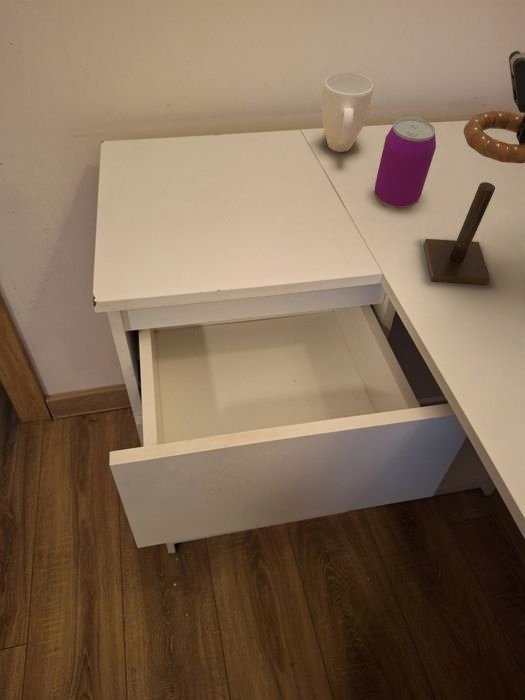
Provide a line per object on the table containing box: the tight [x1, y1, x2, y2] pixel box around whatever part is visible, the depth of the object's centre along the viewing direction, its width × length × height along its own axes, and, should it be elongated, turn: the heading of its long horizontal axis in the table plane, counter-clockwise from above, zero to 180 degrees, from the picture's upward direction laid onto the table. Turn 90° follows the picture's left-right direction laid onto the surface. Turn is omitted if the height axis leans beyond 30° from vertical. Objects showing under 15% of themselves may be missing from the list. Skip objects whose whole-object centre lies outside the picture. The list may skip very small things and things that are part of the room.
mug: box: [320, 71, 374, 153], centre depth 90 cm, size 12×8×11 cm
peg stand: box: [423, 181, 496, 285], centre depth 71 cm, size 8×8×13 cm
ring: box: [463, 110, 525, 164], centre depth 61 cm, size 10×10×2 cm
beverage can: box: [374, 117, 437, 209], centre depth 81 cm, size 8×8×12 cm
